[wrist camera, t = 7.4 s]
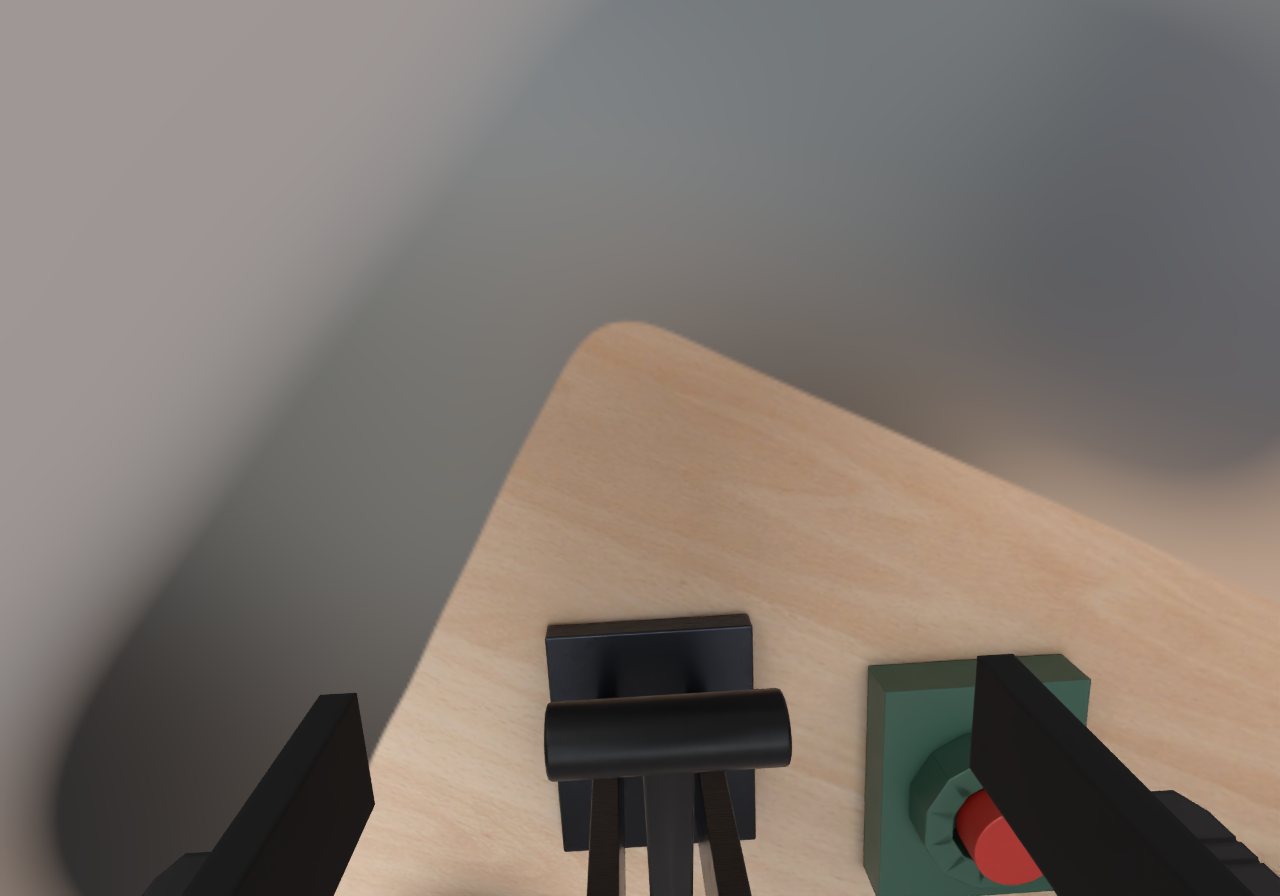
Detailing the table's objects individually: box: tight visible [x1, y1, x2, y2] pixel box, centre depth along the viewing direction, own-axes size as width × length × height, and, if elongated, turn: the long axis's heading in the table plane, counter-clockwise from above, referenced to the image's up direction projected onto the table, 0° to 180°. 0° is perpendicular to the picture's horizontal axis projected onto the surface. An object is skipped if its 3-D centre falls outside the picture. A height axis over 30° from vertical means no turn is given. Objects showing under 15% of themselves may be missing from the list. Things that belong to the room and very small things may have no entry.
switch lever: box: [544, 688, 792, 896], centre depth 19 cm, size 14×5×2 cm, turn 3°
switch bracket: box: [545, 614, 756, 896], centre depth 27 cm, size 11×9×14 cm
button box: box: [864, 654, 1091, 896], centre depth 33 cm, size 11×9×4 cm
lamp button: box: [956, 788, 1043, 885], centre depth 31 cm, size 4×4×2 cm
